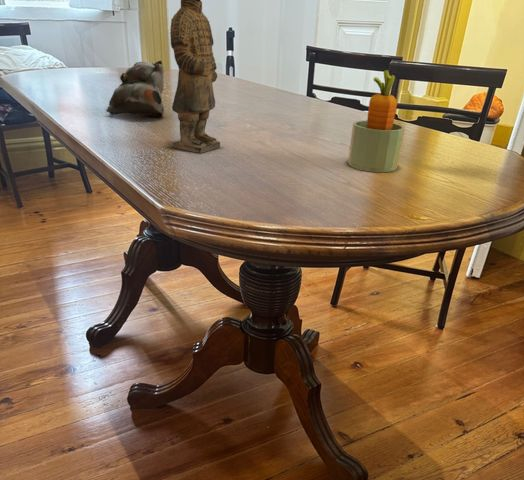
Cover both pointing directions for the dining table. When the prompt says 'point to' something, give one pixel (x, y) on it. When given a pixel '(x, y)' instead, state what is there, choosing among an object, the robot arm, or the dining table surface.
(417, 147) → the dining table surface
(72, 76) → the dining table surface
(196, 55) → the statue
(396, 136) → the holder
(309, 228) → the dining table surface
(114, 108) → the dark stacked lumps
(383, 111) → the carrot
